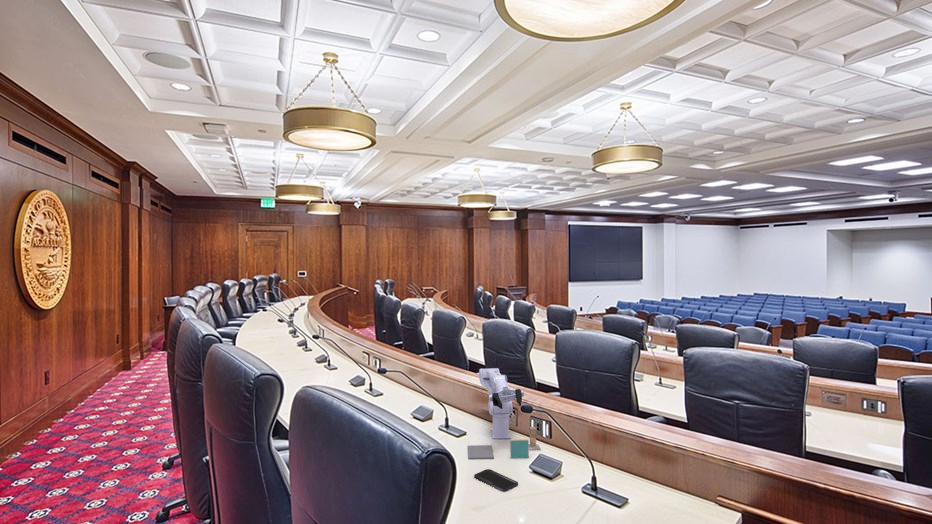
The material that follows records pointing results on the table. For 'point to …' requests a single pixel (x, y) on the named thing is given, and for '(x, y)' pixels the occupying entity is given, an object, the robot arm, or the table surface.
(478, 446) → the mat
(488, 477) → the phone
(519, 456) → the tile
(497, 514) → the table surface
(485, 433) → the table surface
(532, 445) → the grey square paddle
